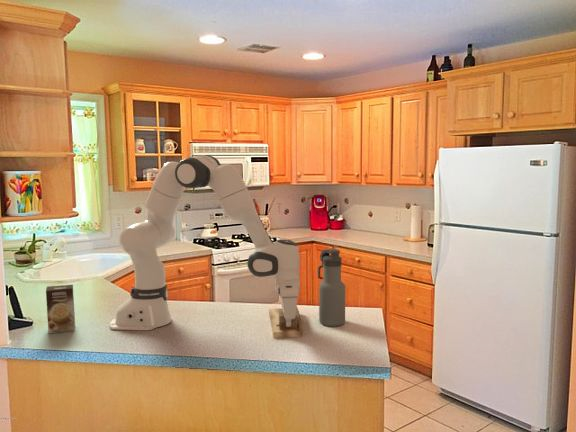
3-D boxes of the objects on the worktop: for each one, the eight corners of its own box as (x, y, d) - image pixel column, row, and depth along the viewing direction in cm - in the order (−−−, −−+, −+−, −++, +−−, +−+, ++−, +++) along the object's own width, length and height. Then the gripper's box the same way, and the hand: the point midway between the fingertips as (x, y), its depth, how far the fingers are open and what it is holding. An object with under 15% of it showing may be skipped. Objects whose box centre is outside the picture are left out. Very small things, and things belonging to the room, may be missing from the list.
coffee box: (47, 334, 179) (44, 290, 177) (49, 328, 185) (46, 286, 183) (75, 330, 182) (72, 288, 180) (76, 325, 188) (73, 283, 186)
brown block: (276, 330, 175) (276, 316, 174) (276, 326, 179) (275, 312, 178) (296, 329, 175) (296, 315, 175) (295, 325, 179) (295, 311, 179)
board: (273, 337, 173) (273, 325, 172) (269, 313, 199) (268, 303, 198) (303, 336, 174) (303, 324, 173) (295, 312, 200) (295, 302, 199)
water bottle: (313, 321, 189) (313, 248, 186) (333, 316, 195) (333, 246, 191) (329, 328, 181) (329, 253, 177) (350, 323, 186) (350, 250, 183)
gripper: (276, 278, 185) (276, 314, 187) (280, 293, 165) (281, 333, 167) (293, 277, 186) (293, 313, 187) (299, 293, 165) (299, 333, 167)
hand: (287, 323), depth 177 cm, fingers closed on brown block, 4 cm apart
